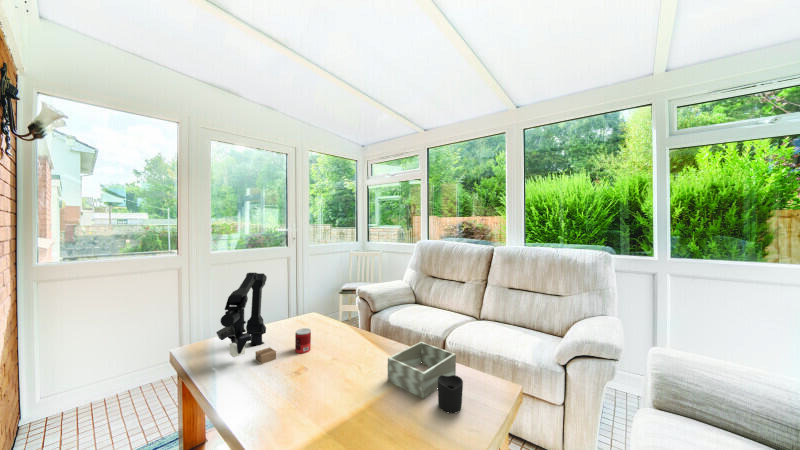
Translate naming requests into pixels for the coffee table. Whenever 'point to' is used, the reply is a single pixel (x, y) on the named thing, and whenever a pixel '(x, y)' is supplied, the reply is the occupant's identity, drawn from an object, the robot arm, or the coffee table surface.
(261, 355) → the walnut base
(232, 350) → the cream cube
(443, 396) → the pen holder
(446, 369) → the toy crate
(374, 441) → the coffee table surface
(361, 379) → the coffee table surface
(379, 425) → the coffee table surface
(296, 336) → the canned food
